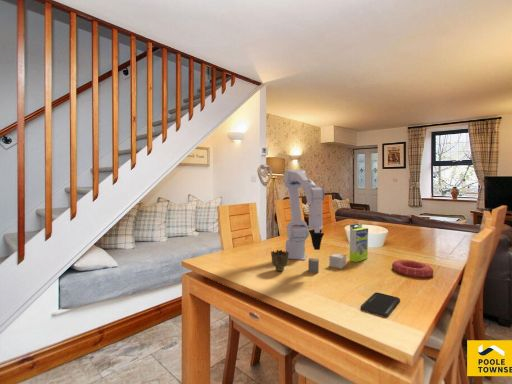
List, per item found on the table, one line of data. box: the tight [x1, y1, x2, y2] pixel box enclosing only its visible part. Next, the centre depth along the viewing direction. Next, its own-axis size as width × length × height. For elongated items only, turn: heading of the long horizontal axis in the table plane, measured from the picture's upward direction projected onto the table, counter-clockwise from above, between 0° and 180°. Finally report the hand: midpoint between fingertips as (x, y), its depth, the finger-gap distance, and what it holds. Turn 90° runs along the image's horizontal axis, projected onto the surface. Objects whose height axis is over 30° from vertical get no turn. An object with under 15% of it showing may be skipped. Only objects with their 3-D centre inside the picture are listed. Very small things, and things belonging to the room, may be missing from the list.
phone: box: [360, 292, 401, 318], centre depth 86 cm, size 8×1×15 cm
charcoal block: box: [307, 257, 320, 274], centre depth 118 cm, size 4×4×5 cm
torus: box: [391, 259, 434, 279], centre depth 117 cm, size 16×14×4 cm
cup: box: [270, 249, 289, 272], centre depth 119 cm, size 8×7×8 cm
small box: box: [328, 253, 347, 269], centre depth 125 cm, size 6×6×5 cm
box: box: [349, 222, 369, 263], centre depth 135 cm, size 10×4×17 cm, turn 128°
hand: (316, 247), depth 118 cm, fingers open, 7 cm apart
